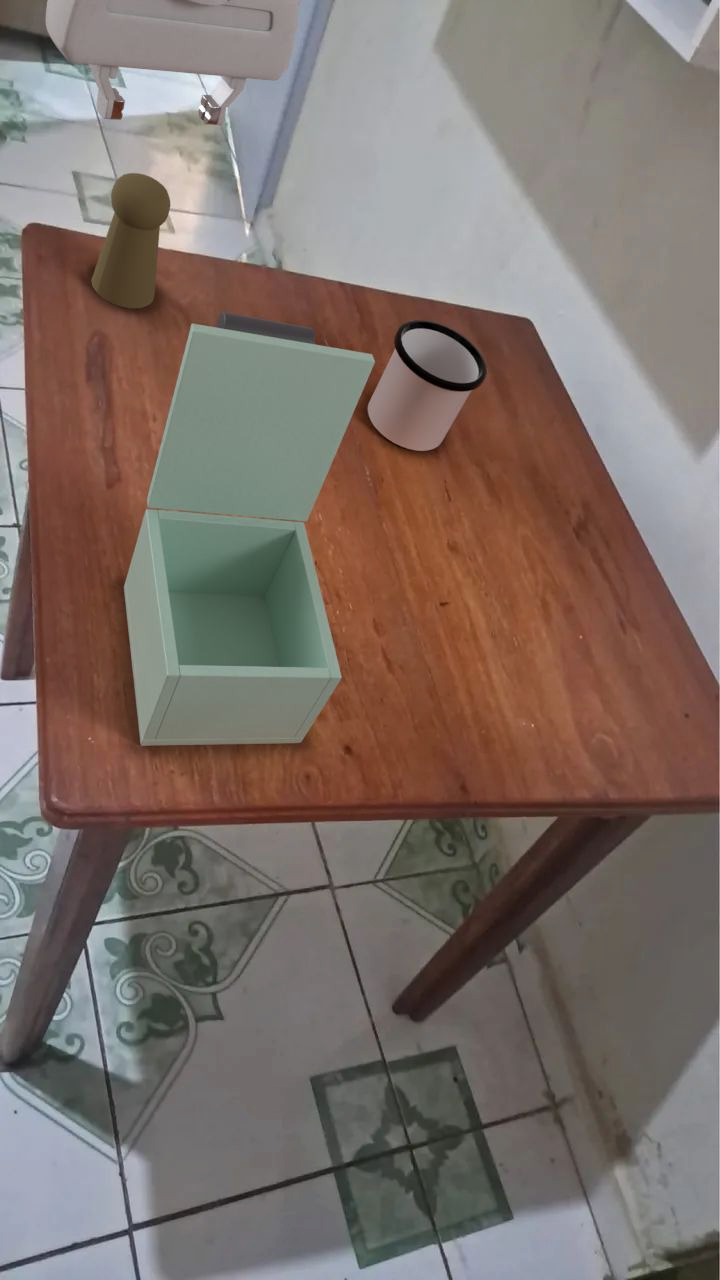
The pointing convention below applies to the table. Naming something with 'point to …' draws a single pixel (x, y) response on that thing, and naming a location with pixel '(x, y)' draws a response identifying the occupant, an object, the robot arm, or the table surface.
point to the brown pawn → (132, 242)
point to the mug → (425, 384)
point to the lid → (255, 419)
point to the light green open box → (226, 631)
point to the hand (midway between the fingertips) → (160, 118)
